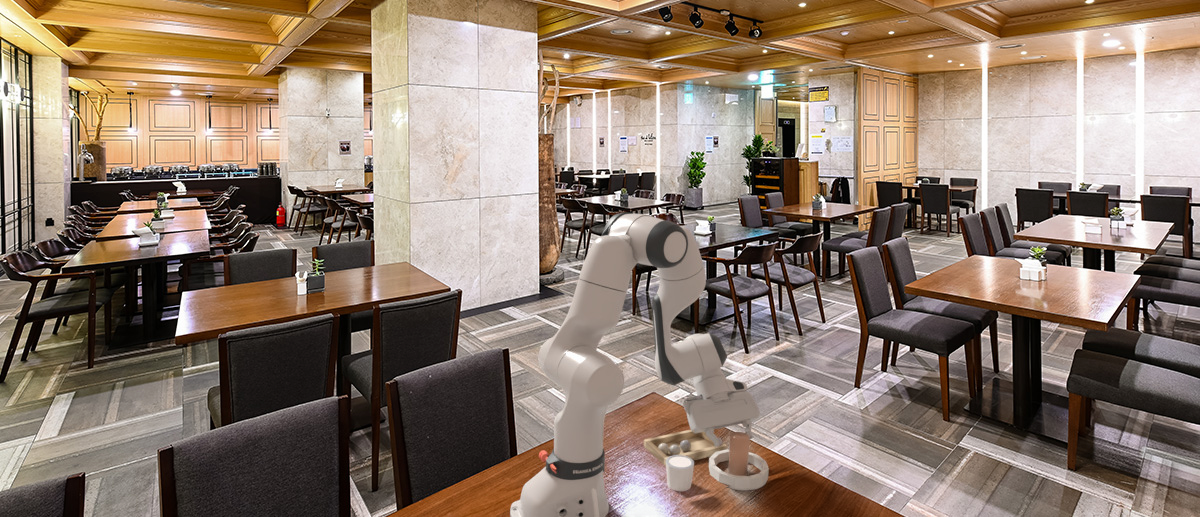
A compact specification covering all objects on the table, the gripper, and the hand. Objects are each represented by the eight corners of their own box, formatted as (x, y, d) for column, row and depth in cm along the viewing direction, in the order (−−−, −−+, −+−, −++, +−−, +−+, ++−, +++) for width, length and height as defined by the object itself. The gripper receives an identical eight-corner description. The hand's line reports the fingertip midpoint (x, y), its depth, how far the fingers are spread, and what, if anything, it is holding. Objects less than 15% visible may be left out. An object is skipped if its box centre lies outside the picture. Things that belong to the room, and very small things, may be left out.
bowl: (732, 495, 147) (732, 483, 146) (698, 467, 160) (698, 456, 159) (779, 482, 153) (780, 470, 152) (742, 456, 166) (743, 445, 165)
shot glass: (692, 497, 146) (693, 470, 145) (663, 493, 147) (664, 466, 146) (693, 482, 153) (694, 456, 151) (666, 478, 154) (667, 453, 153)
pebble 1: (661, 457, 163) (661, 447, 162) (655, 452, 165) (655, 442, 165) (671, 455, 164) (671, 445, 163) (665, 450, 167) (665, 440, 166)
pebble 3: (688, 442, 169) (679, 438, 168) (694, 441, 166) (684, 438, 165) (686, 453, 167) (676, 449, 167) (692, 452, 165) (682, 449, 164)
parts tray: (666, 469, 158) (666, 459, 158) (643, 449, 169) (643, 439, 168) (726, 455, 166) (726, 445, 166) (701, 436, 177) (701, 427, 176)
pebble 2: (667, 447, 163) (678, 447, 162) (669, 442, 165) (680, 442, 165) (669, 458, 163) (680, 457, 162) (671, 453, 166) (682, 453, 165)
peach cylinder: (735, 479, 153) (738, 442, 151) (724, 470, 157) (726, 434, 155) (751, 475, 155) (753, 438, 153) (739, 466, 159) (741, 430, 157)
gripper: (685, 393, 157) (706, 446, 150) (750, 381, 165) (772, 431, 158) (676, 403, 162) (695, 454, 155) (739, 391, 170) (760, 439, 163)
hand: (734, 442), depth 157 cm, fingers open, 8 cm apart
